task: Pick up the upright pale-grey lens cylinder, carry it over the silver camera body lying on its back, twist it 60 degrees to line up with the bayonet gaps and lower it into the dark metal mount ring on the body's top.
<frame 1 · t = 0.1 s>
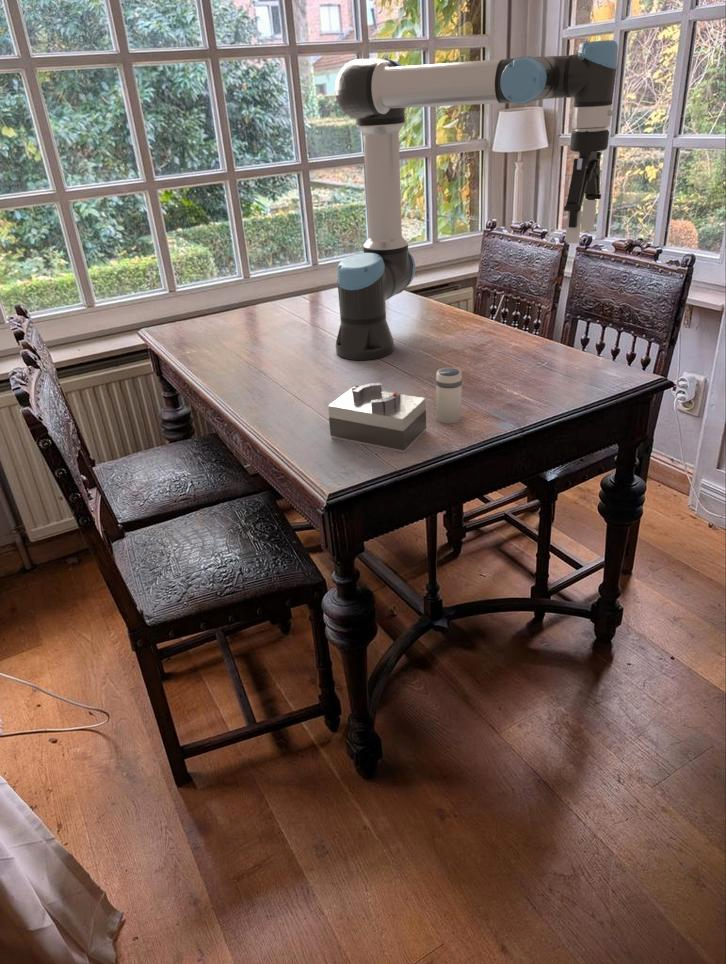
hand: (579, 236, 152), 28 cm above the table, fingers open, 13 cm apart
lens: (448, 418, 140), on the table
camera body: (378, 434, 135), on the table
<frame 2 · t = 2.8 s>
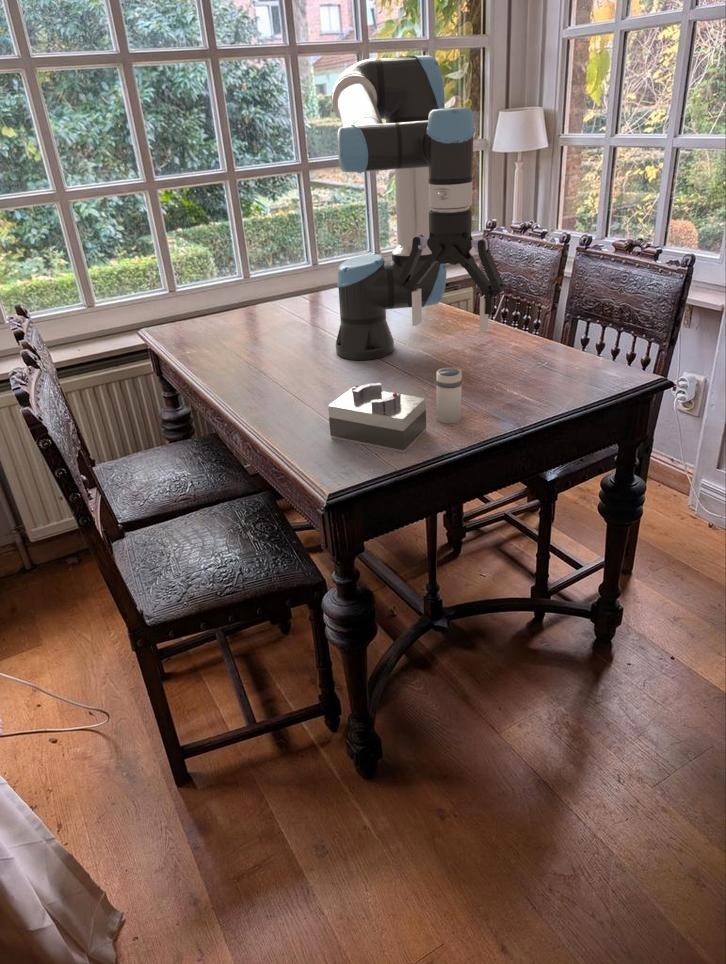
hand: (449, 327, 130), 19 cm above the table, fingers open, 13 cm apart
nothing on the table moved.
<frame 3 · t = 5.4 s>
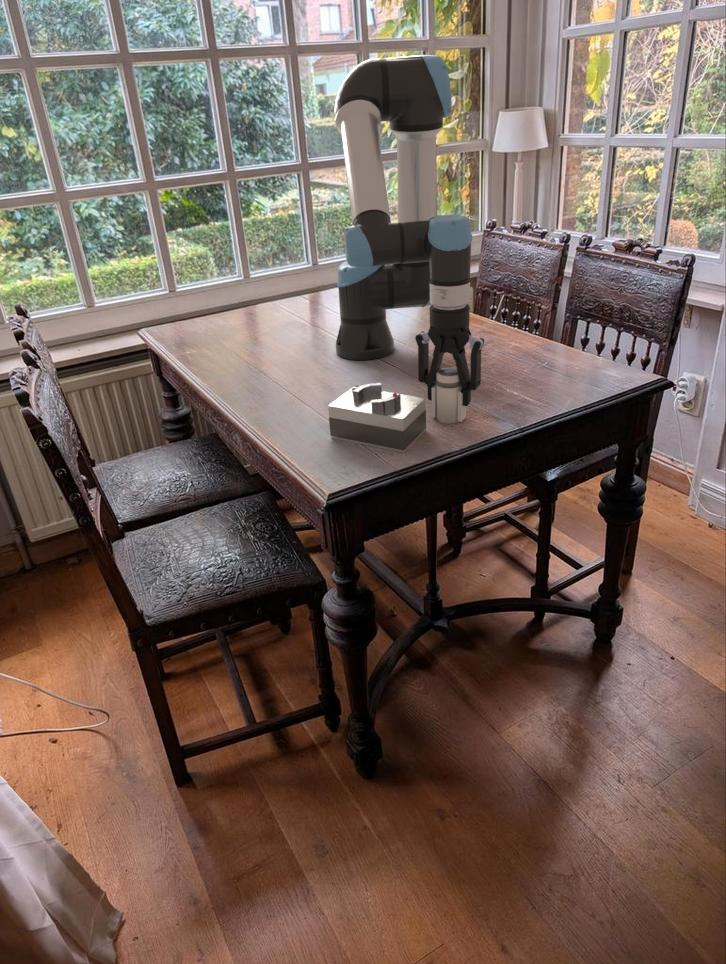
hand: (448, 416, 139), 0 cm above the table, fingers closed on lens, 5 cm apart
lens: (448, 418, 140), on the table, touching gripper
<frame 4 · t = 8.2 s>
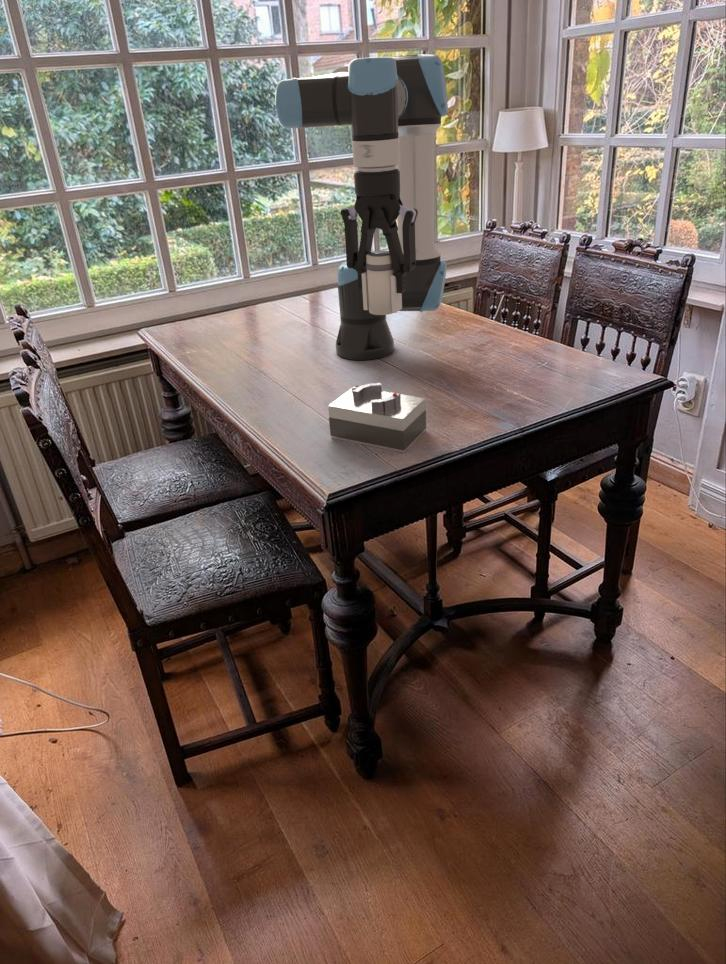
hand: (382, 309, 123), 25 cm above the table, fingers closed on lens, 5 cm apart
lens: (382, 310, 123), point 25 cm above the table, touching gripper
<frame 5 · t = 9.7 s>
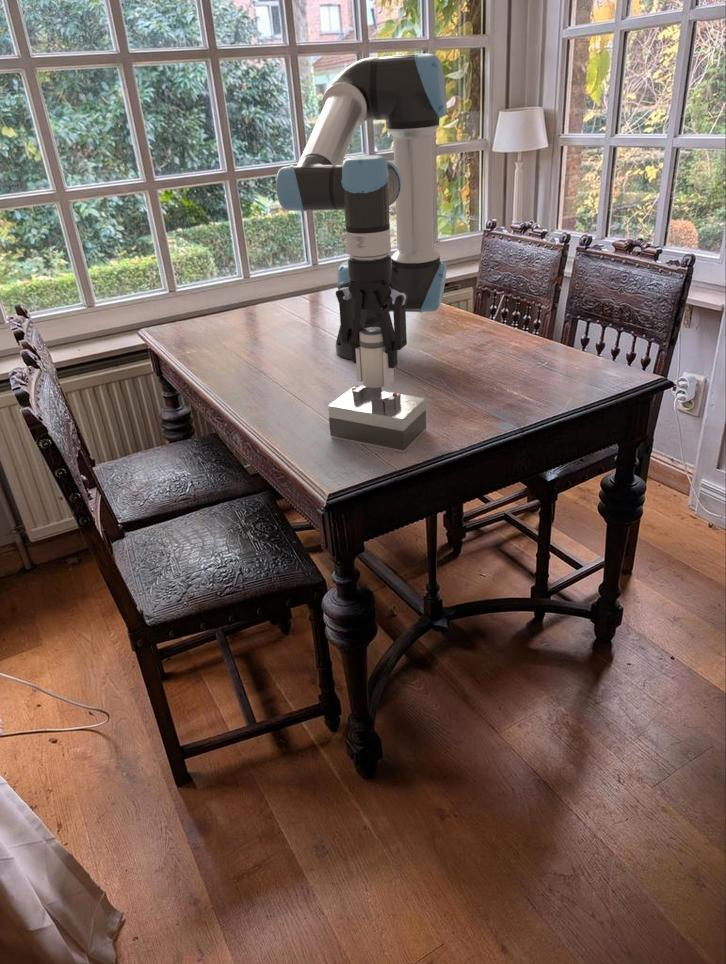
hand: (375, 380, 129), 11 cm above the table, fingers closed on lens, 5 cm apart
lens: (375, 382, 129), point 11 cm above the table, touching gripper
when the fingers open (8 cm above the table, at t = 10.9 s): lens stays where it is, resting on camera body.
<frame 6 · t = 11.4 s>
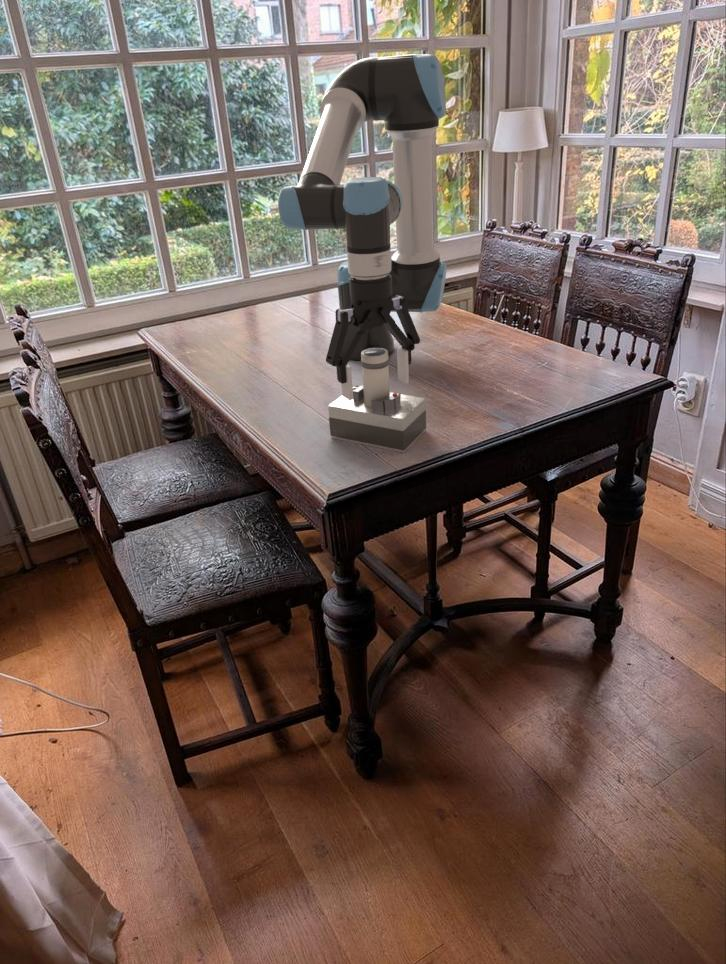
hand: (376, 389, 130), 10 cm above the table, fingers open, 12 cm apart
lens: (377, 401, 131), point 7 cm above the table, touching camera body
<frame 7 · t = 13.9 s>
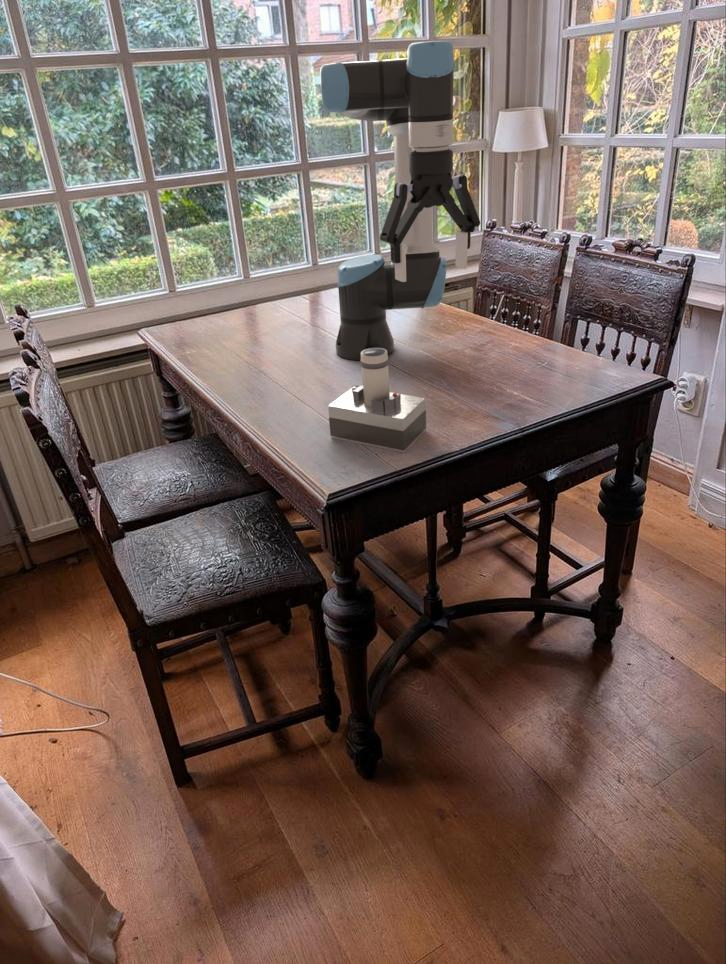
hand: (431, 274, 128), 29 cm above the table, fingers open, 13 cm apart
nothing on the table moved.
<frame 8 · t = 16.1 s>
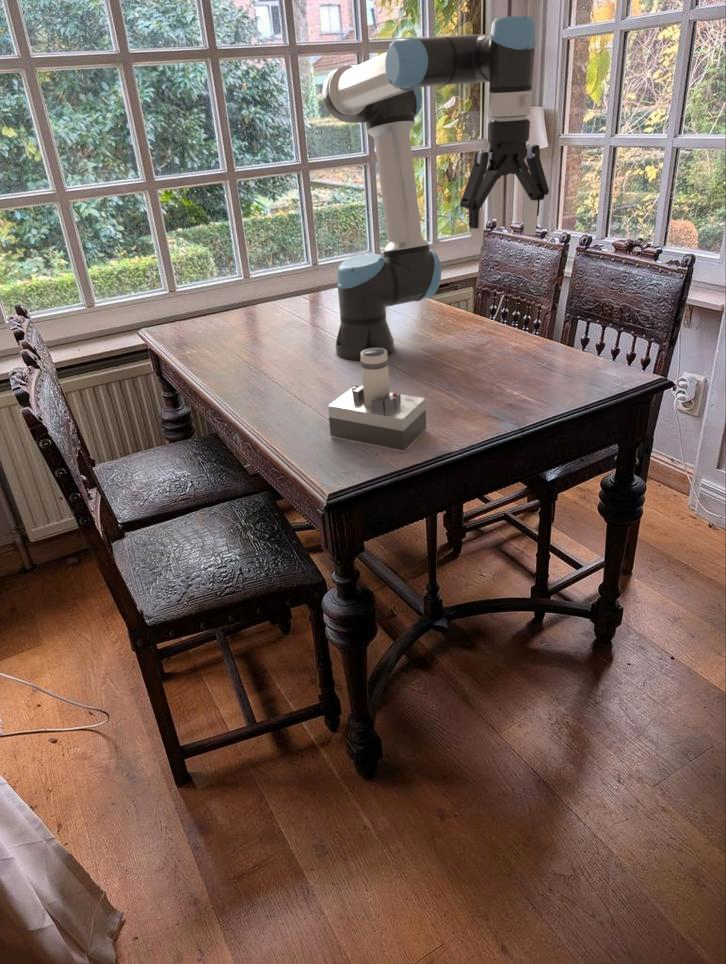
hand: (503, 240, 135), 32 cm above the table, fingers open, 13 cm apart
nothing on the table moved.
at the end: lens 0.0 cm off-centre on the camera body, point 7.0 cm above the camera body's base; lens tilted 1°; the gripper is holding nothing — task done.
